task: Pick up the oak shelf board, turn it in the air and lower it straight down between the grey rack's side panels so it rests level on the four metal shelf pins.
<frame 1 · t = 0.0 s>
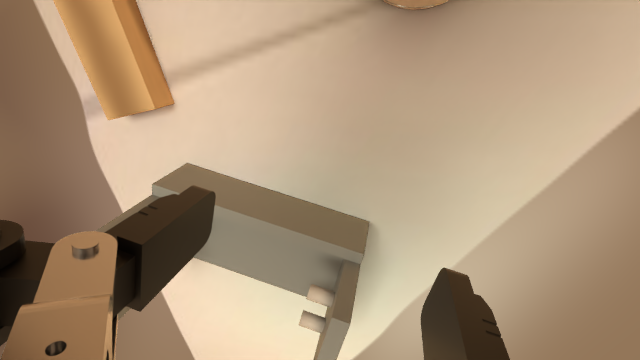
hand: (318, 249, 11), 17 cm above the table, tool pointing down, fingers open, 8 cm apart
grey rack: (266, 238, 33), on the table
shelf board: (121, 26, 28), on the table
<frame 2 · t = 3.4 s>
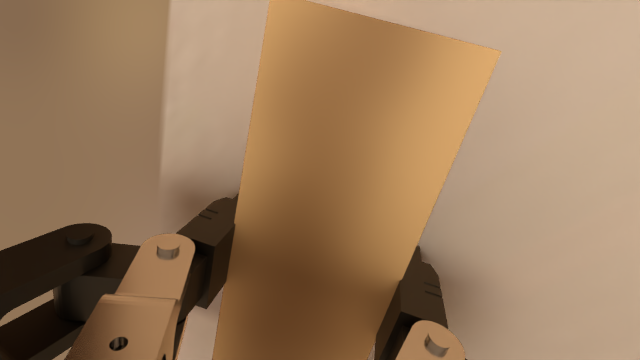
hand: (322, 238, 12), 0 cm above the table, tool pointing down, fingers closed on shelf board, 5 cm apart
shelf board: (327, 227, 13), on the table, touching gripper
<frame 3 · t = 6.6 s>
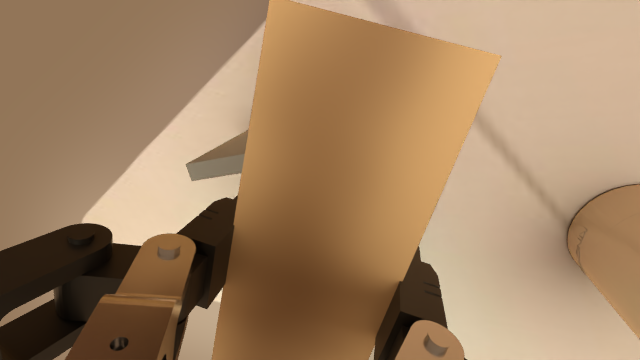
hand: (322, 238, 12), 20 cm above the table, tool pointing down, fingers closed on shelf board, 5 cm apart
grey rack: (312, 207, 34), on the table
shelf board: (326, 230, 13), point 19 cm above the table, touching gripper
when the fingers open (8 cm above the table, at t = 9.8 s): shelf board stays where it is, resting on grey rack.
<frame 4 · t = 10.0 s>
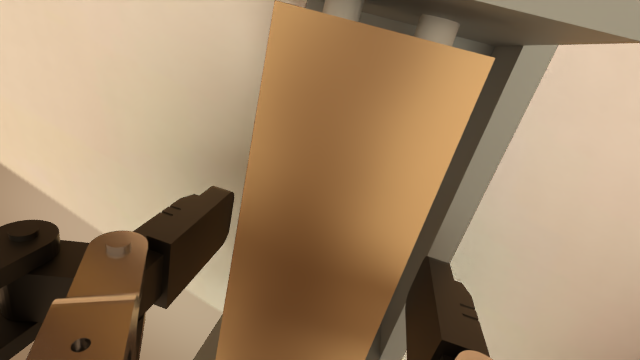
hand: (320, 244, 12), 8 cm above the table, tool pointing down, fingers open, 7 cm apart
grey rack: (349, 167, 19), on the table
shelf board: (328, 226, 13), point 7 cm above the table, touching grey rack
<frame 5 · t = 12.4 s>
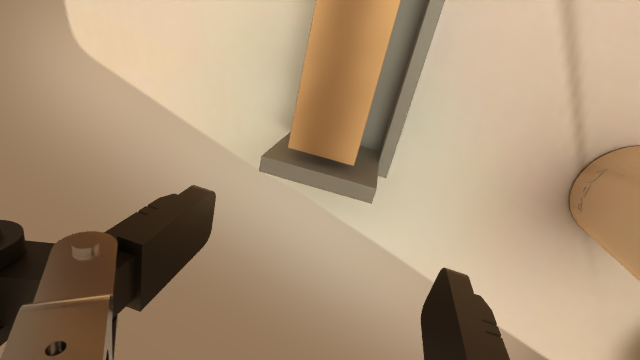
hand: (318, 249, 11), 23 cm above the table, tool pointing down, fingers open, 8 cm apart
grey rack: (357, 54, 31), on the table
shelf board: (349, 55, 24), point 7 cm above the table, touching grey rack
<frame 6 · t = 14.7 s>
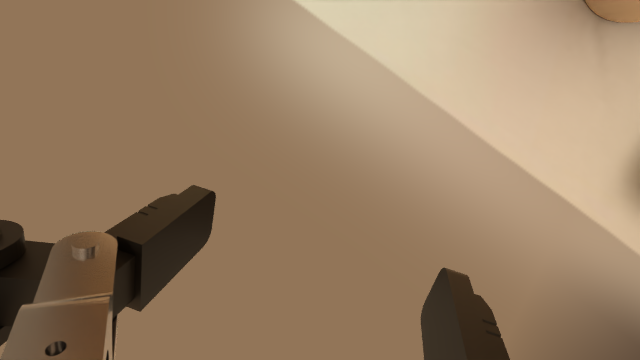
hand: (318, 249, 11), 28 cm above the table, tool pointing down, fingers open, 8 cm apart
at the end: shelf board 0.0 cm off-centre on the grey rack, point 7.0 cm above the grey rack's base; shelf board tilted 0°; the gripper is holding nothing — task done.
